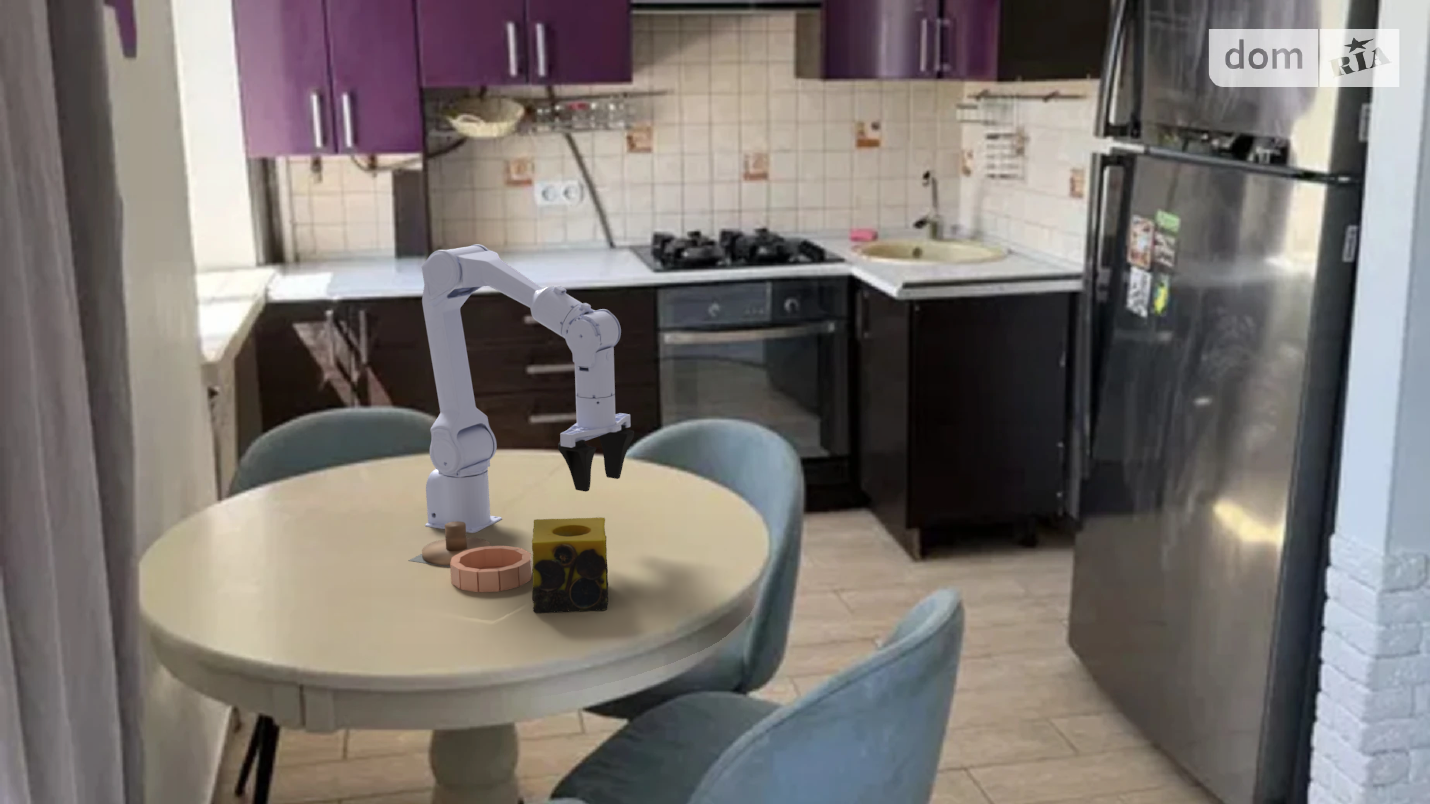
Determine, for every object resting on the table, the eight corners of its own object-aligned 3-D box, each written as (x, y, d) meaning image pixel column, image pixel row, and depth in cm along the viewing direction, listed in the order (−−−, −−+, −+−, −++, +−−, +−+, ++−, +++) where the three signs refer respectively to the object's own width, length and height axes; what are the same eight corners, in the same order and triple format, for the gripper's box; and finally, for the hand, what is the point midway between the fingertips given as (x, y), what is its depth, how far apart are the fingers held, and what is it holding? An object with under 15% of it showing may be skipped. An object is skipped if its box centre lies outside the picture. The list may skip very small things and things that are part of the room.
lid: (408, 560, 200) (406, 530, 199) (448, 540, 209) (447, 511, 208) (465, 569, 196) (463, 538, 195) (504, 548, 205) (502, 518, 204)
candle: (534, 588, 189) (531, 518, 187) (608, 584, 190) (606, 515, 188) (531, 615, 180) (528, 542, 177) (609, 611, 180) (606, 539, 178)
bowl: (436, 587, 190) (434, 565, 189) (481, 563, 200) (480, 542, 199) (503, 598, 185) (502, 576, 185) (546, 573, 195) (545, 551, 194)
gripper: (586, 407, 192) (589, 499, 195) (646, 388, 204) (648, 475, 207) (547, 401, 196) (551, 492, 199) (608, 383, 208) (610, 469, 211)
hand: (598, 483), depth 203 cm, fingers open, 7 cm apart
